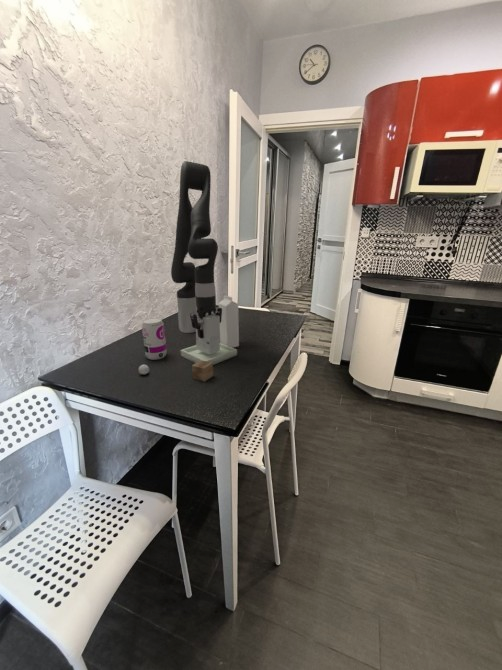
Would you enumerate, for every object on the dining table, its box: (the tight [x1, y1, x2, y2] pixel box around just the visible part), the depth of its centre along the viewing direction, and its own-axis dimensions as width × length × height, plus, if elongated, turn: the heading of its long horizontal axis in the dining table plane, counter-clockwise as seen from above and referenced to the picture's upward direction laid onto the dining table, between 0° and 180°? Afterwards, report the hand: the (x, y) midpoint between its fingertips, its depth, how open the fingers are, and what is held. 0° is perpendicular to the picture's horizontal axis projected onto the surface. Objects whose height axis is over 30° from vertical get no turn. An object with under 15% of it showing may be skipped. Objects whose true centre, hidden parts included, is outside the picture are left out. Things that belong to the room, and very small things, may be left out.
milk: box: [218, 294, 240, 348], centre depth 129 cm, size 6×6×22 cm
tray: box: [180, 343, 238, 366], centre depth 123 cm, size 16×16×2 cm
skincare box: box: [195, 314, 220, 354], centre depth 120 cm, size 8×6×15 cm
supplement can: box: [141, 317, 168, 361], centre depth 120 cm, size 8×8×15 cm
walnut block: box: [191, 360, 214, 383], centre depth 105 cm, size 5×5×5 cm
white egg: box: [138, 364, 150, 376], centre depth 108 cm, size 4×4×4 cm
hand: (207, 335), depth 120 cm, fingers closed on skincare box, 6 cm apart
